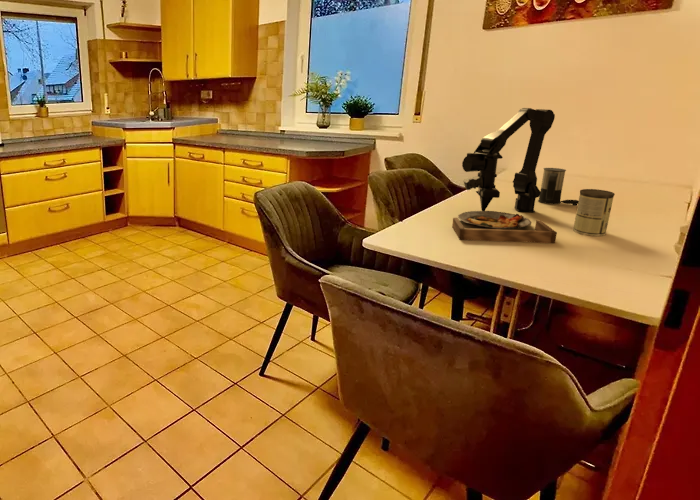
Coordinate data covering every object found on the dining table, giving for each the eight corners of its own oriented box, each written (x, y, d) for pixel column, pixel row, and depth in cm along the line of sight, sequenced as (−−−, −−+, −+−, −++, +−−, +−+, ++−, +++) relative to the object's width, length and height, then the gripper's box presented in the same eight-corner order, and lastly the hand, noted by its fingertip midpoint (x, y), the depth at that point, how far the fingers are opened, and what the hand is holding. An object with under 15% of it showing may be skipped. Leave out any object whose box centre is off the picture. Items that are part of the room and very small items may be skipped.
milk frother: (535, 199, 203) (540, 166, 198) (572, 201, 201) (578, 168, 196) (543, 206, 190) (549, 171, 185) (583, 208, 187) (589, 173, 183)
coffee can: (571, 226, 160) (578, 187, 156) (602, 229, 157) (611, 190, 152) (574, 234, 151) (582, 193, 146) (608, 237, 148) (617, 196, 143)
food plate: (539, 223, 163) (540, 213, 162) (517, 238, 146) (518, 227, 144) (474, 213, 178) (474, 204, 176) (447, 225, 160) (448, 216, 159)
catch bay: (539, 230, 155) (540, 220, 154) (555, 243, 141) (556, 232, 140) (452, 227, 156) (453, 217, 155) (459, 239, 142) (460, 229, 141)
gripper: (462, 166, 177) (458, 204, 183) (471, 174, 160) (466, 216, 165) (490, 167, 177) (485, 205, 182) (502, 175, 159) (497, 217, 164)
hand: (483, 210), depth 173 cm, fingers closed
